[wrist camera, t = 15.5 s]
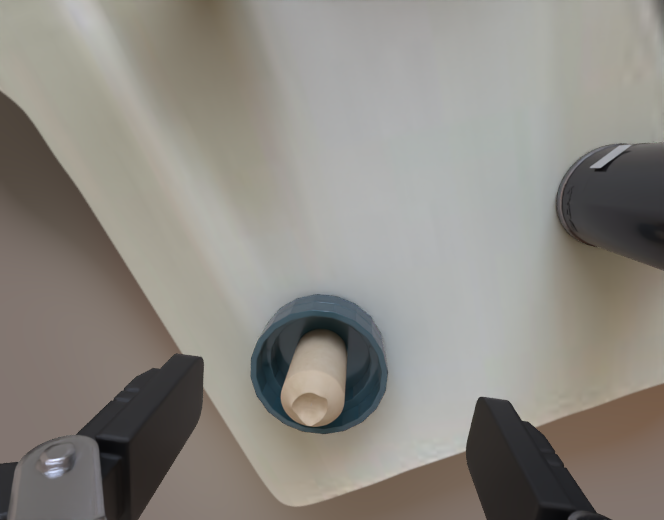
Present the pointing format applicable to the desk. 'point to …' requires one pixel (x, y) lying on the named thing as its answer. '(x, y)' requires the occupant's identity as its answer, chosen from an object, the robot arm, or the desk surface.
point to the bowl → (362, 357)
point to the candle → (316, 379)
